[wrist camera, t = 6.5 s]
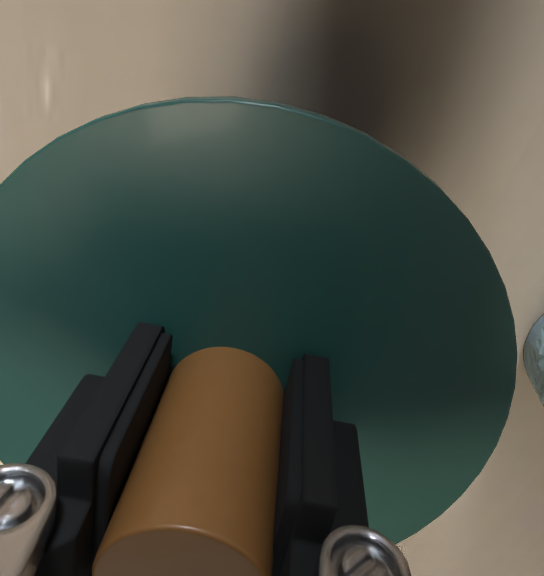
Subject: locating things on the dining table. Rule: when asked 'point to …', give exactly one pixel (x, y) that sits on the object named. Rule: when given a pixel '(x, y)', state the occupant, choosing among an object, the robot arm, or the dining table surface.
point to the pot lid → (250, 317)
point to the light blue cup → (535, 357)
